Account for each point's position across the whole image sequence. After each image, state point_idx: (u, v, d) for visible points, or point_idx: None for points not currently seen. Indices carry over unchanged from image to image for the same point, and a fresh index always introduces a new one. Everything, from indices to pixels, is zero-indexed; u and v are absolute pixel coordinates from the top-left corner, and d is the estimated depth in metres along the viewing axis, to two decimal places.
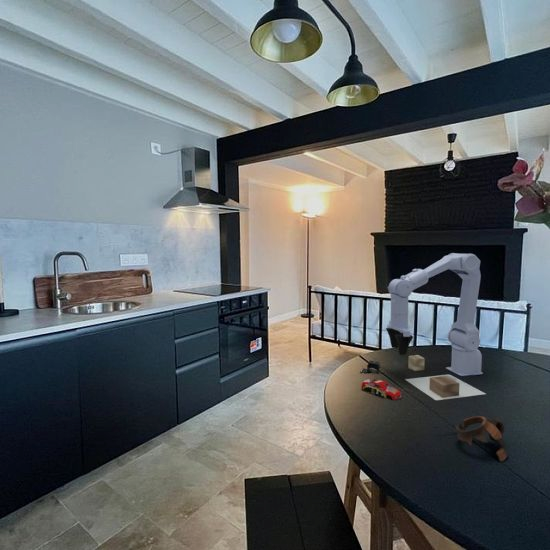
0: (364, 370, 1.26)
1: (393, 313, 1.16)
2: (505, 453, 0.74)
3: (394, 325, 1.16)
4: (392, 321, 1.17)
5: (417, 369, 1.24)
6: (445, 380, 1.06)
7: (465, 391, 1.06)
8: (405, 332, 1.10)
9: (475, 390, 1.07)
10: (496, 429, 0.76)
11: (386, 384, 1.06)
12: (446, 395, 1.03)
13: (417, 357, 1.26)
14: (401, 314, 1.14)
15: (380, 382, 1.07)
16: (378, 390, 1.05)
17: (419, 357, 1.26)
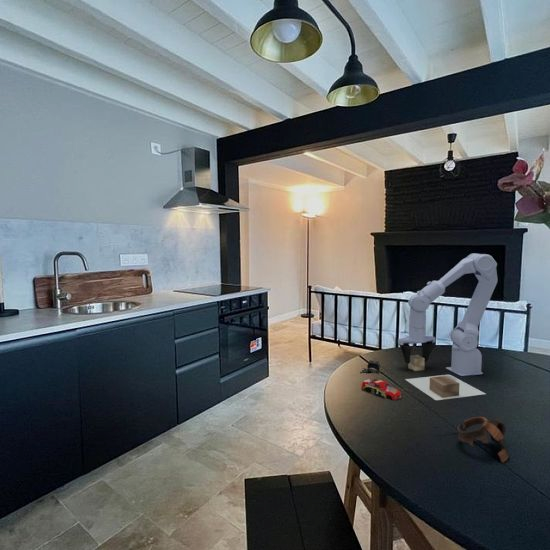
0: (364, 370, 1.26)
1: (410, 326, 1.25)
2: (506, 454, 0.74)
3: None
4: None
5: (417, 369, 1.24)
6: (445, 380, 1.06)
7: (465, 391, 1.06)
8: (398, 340, 1.24)
9: (475, 390, 1.07)
10: (497, 430, 0.76)
11: (386, 384, 1.06)
12: (446, 395, 1.03)
13: (416, 357, 1.26)
14: (416, 327, 1.22)
15: (380, 382, 1.07)
16: (378, 390, 1.05)
17: (419, 357, 1.26)
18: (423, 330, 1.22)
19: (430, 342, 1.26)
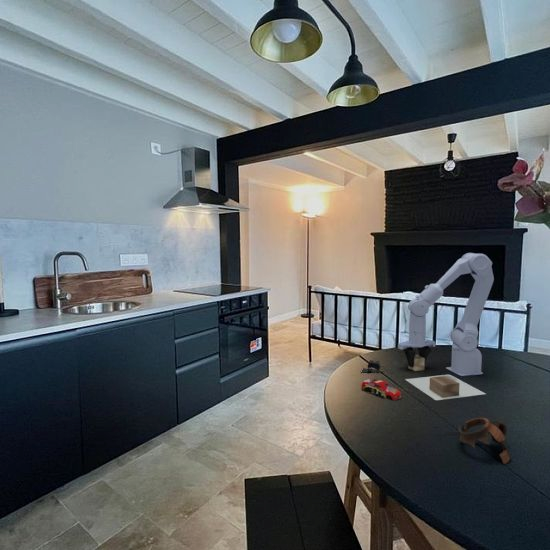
0: (364, 370, 1.26)
1: (410, 330, 1.25)
2: (508, 455, 0.74)
3: None
4: None
5: (417, 369, 1.24)
6: (445, 380, 1.06)
7: (465, 391, 1.06)
8: (398, 344, 1.25)
9: (475, 390, 1.07)
10: (499, 431, 0.75)
11: (386, 384, 1.06)
12: (446, 395, 1.03)
13: (417, 357, 1.26)
14: (416, 332, 1.22)
15: (380, 382, 1.07)
16: (378, 390, 1.05)
17: (419, 357, 1.26)
18: (423, 334, 1.23)
19: (426, 347, 1.26)
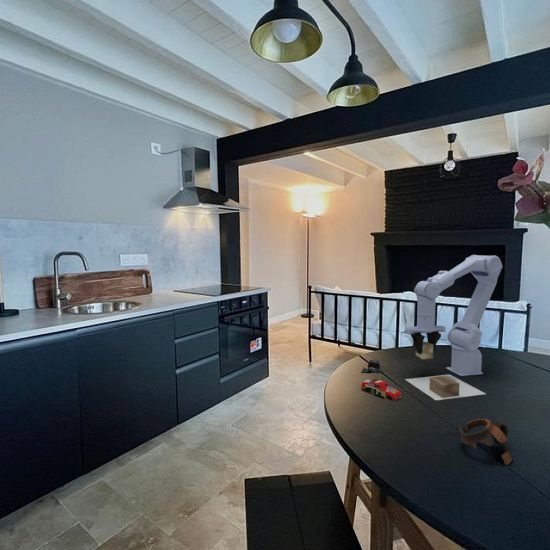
0: (364, 370, 1.26)
1: (421, 315, 1.16)
2: (510, 456, 0.73)
3: None
4: None
5: (425, 356, 1.17)
6: (445, 380, 1.06)
7: (465, 391, 1.06)
8: (406, 329, 1.17)
9: (475, 390, 1.07)
10: (501, 432, 0.75)
11: (386, 384, 1.06)
12: (446, 395, 1.03)
13: (425, 343, 1.19)
14: (429, 316, 1.15)
15: (380, 382, 1.07)
16: (378, 390, 1.05)
17: (427, 343, 1.18)
18: (432, 319, 1.15)
19: (436, 332, 1.18)
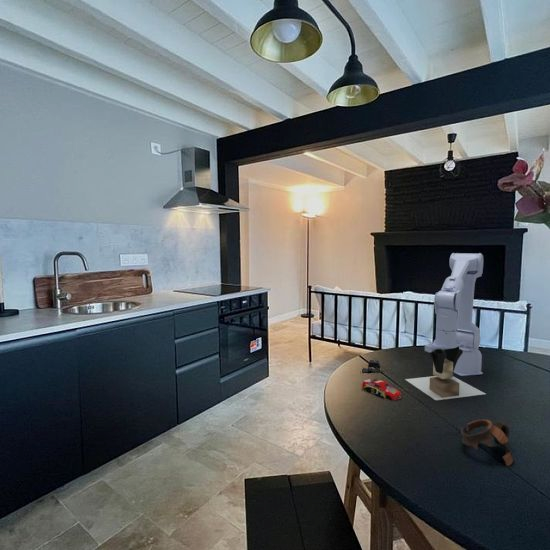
0: (364, 370, 1.27)
1: (446, 330, 1.02)
2: (511, 457, 0.73)
3: (435, 340, 1.06)
4: None
5: (445, 375, 1.04)
6: (445, 380, 1.06)
7: (465, 391, 1.06)
8: (425, 346, 1.03)
9: (475, 390, 1.07)
10: (502, 433, 0.75)
11: (386, 385, 1.06)
12: (446, 395, 1.03)
13: None
14: (455, 330, 1.02)
15: (380, 382, 1.07)
16: (378, 390, 1.05)
17: (446, 361, 1.05)
18: (454, 333, 1.02)
19: (456, 348, 1.05)
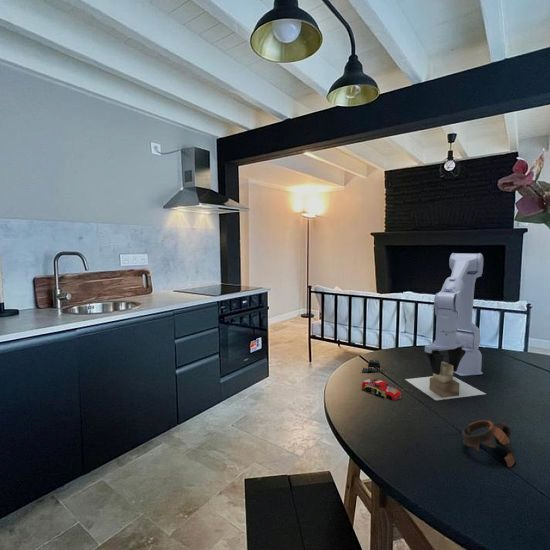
0: (364, 369, 1.27)
1: (446, 331, 1.02)
2: (513, 458, 0.72)
3: (435, 340, 1.06)
4: None
5: (445, 379, 1.04)
6: None
7: (465, 391, 1.06)
8: (425, 347, 1.03)
9: (475, 390, 1.07)
10: (503, 434, 0.74)
11: (386, 384, 1.06)
12: (446, 395, 1.03)
13: (443, 364, 1.06)
14: (455, 331, 1.02)
15: (380, 382, 1.07)
16: (378, 390, 1.05)
17: (447, 364, 1.06)
18: (454, 334, 1.02)
19: (459, 348, 1.05)
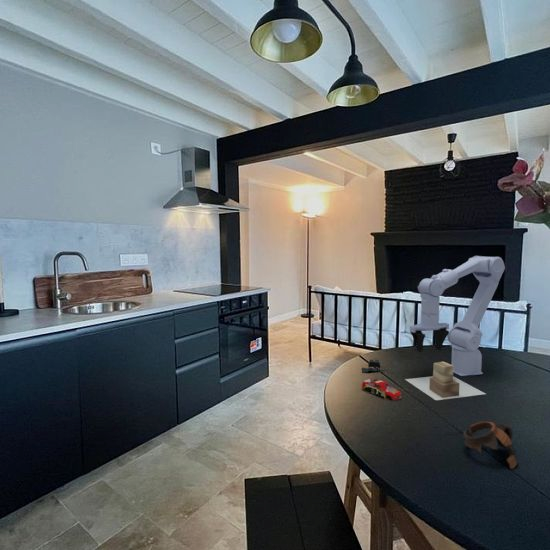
0: (364, 369, 1.27)
1: (425, 313, 1.16)
2: (515, 460, 0.72)
3: None
4: None
5: (445, 379, 1.04)
6: None
7: (465, 391, 1.06)
8: (410, 327, 1.17)
9: (475, 390, 1.07)
10: (505, 435, 0.74)
11: (386, 385, 1.06)
12: (446, 395, 1.03)
13: (443, 364, 1.06)
14: (433, 313, 1.14)
15: (380, 382, 1.07)
16: (378, 390, 1.05)
17: (447, 364, 1.06)
18: (436, 316, 1.15)
19: (443, 329, 1.18)
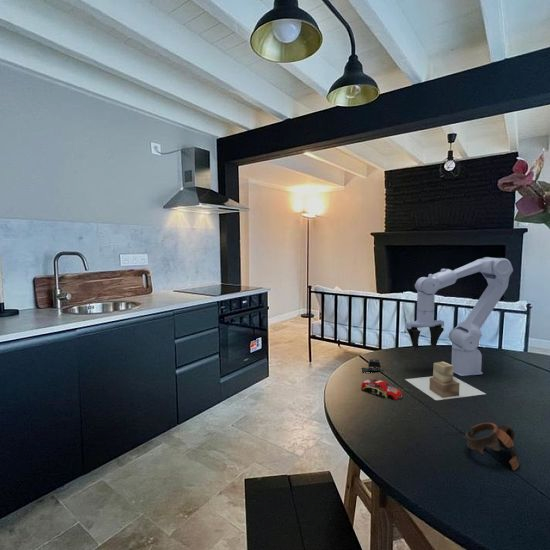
0: (364, 369, 1.27)
1: (419, 309, 1.21)
2: (518, 461, 0.71)
3: None
4: None
5: (445, 379, 1.04)
6: None
7: (465, 391, 1.06)
8: (406, 324, 1.21)
9: (475, 390, 1.07)
10: (508, 436, 0.73)
11: (386, 384, 1.06)
12: (446, 395, 1.03)
13: (443, 364, 1.06)
14: (426, 311, 1.19)
15: (380, 382, 1.07)
16: (379, 390, 1.05)
17: (447, 364, 1.06)
18: (431, 313, 1.19)
19: (439, 326, 1.22)
